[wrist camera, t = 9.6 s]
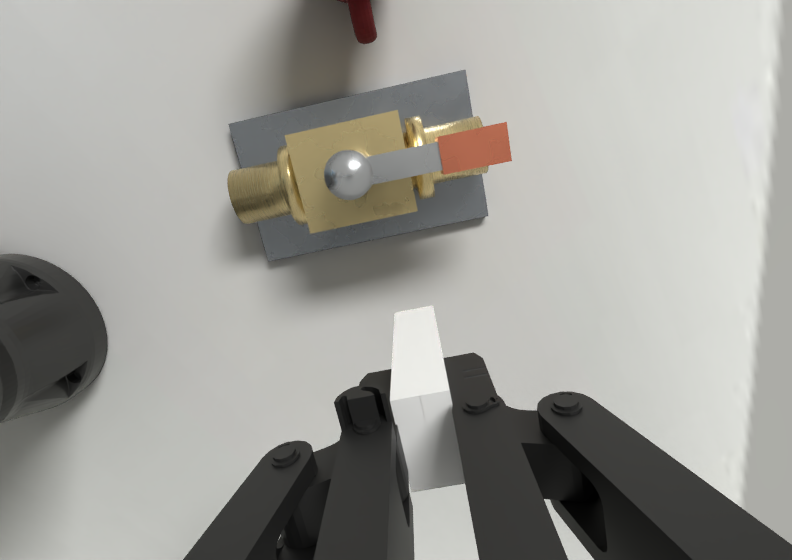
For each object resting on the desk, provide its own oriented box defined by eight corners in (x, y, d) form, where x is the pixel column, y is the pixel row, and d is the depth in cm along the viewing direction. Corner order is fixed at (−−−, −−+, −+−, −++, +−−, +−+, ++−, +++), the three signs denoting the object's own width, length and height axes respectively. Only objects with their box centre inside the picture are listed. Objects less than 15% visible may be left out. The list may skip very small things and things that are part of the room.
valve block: (271, 258, 42) (241, 281, 34) (232, 124, 39) (190, 117, 31) (486, 214, 41) (505, 228, 33) (463, 71, 38) (479, 49, 30)
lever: (335, 201, 33) (330, 204, 30) (324, 155, 32) (318, 155, 29) (503, 166, 32) (512, 167, 29) (497, 118, 31) (505, 115, 28)
